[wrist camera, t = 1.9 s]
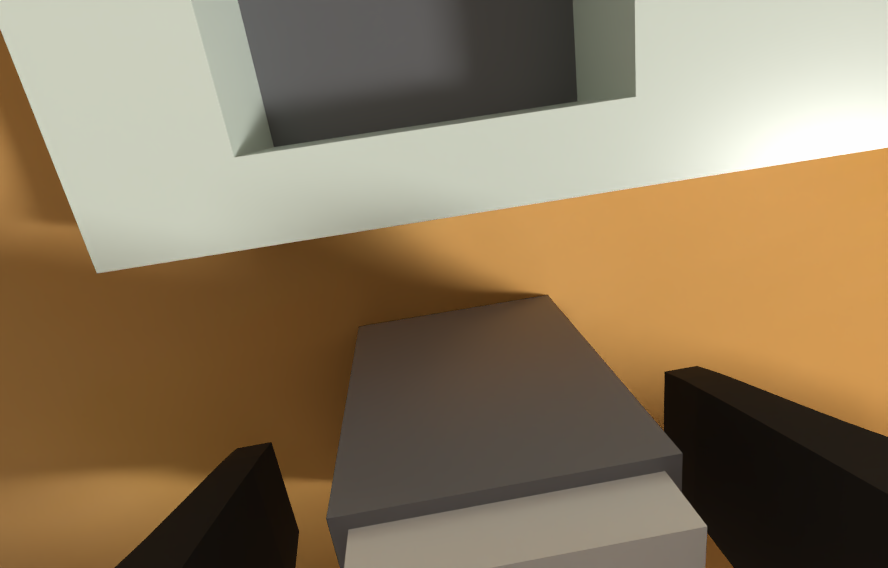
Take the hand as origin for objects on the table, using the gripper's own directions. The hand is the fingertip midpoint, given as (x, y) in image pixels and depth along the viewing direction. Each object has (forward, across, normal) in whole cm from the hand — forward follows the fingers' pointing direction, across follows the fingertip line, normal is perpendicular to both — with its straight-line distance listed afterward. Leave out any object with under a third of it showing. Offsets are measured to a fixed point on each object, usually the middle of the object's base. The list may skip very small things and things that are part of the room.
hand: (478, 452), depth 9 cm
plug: (+2, 0, 0) cm, 2 cm away
